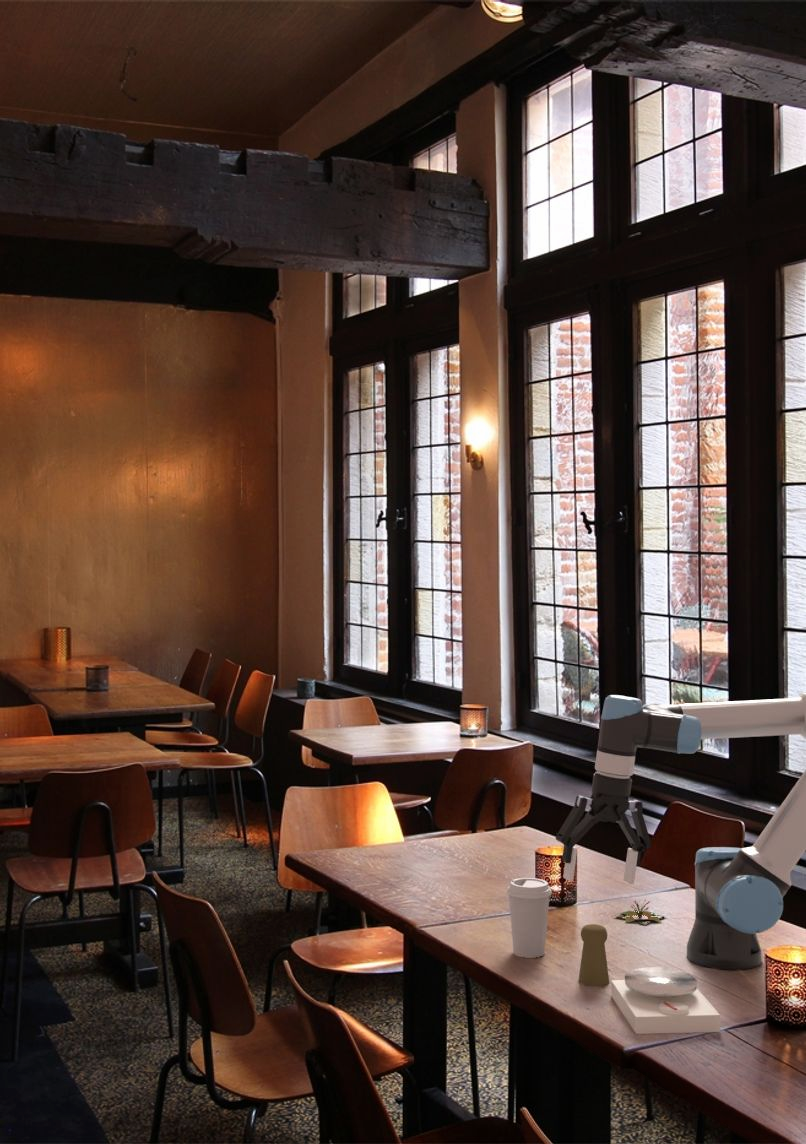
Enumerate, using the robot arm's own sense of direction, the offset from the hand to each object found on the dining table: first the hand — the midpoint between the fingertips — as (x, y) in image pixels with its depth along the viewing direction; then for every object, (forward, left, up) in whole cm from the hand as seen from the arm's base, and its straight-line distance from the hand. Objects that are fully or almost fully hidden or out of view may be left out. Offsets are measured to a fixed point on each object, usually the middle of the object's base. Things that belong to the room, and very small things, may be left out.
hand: (598, 881), depth 244 cm
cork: (+1, 0, -20) cm, 20 cm away
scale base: (-8, +18, -20) cm, 28 cm away
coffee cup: (+11, -18, -20) cm, 29 cm away
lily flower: (-19, -42, -21) cm, 51 cm away
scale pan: (-8, +16, -15) cm, 23 cm away
